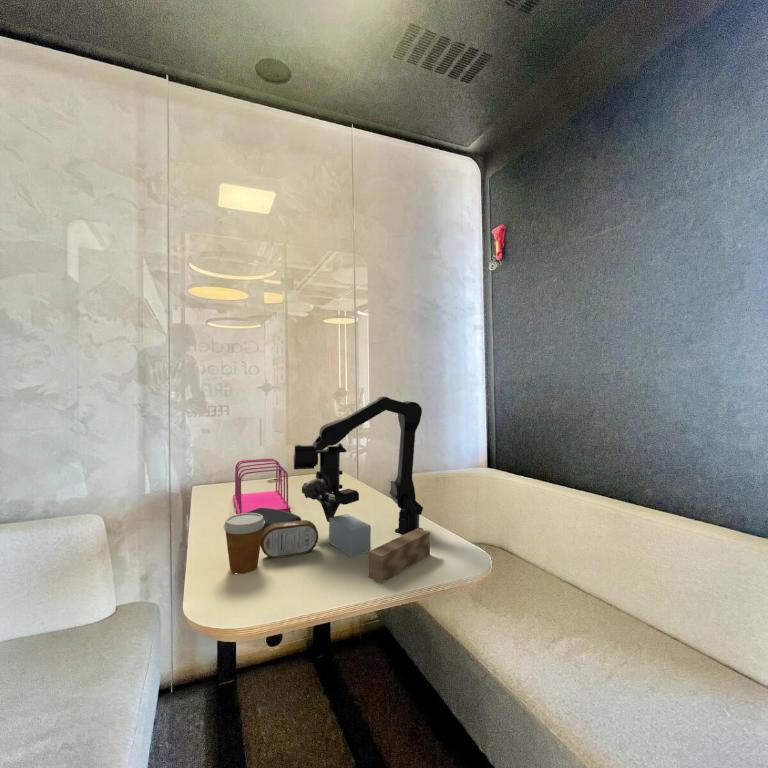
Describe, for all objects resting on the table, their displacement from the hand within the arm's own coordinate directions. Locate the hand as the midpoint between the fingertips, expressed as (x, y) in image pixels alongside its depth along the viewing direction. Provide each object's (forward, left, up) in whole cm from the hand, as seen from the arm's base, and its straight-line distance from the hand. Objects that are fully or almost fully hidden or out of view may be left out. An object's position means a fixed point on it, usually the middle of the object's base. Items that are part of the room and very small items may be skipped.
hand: (329, 521), depth 115 cm
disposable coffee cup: (+26, -2, -5) cm, 27 cm away
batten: (0, +26, -5) cm, 27 cm away
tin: (+14, 0, -5) cm, 15 cm away
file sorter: (-5, -43, -5) cm, 44 cm away
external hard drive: (+6, -22, -6) cm, 23 cm away
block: (0, +8, -5) cm, 10 cm away
